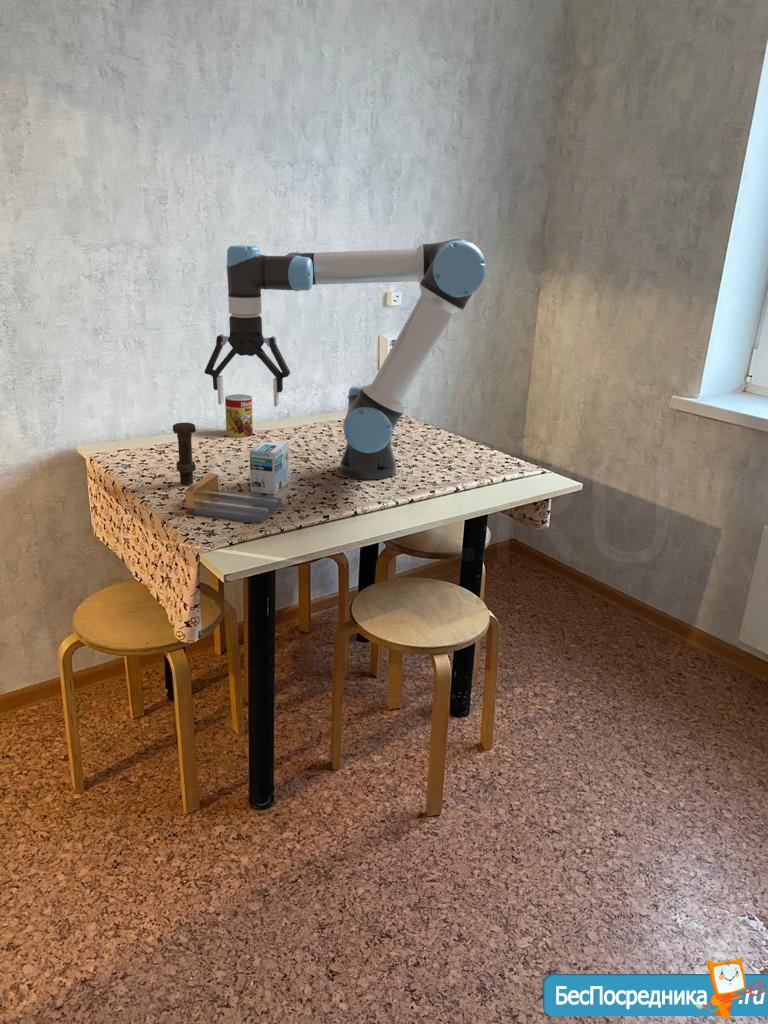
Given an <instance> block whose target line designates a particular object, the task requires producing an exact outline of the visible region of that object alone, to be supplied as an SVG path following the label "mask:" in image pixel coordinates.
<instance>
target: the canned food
mask: <svg viewBox="0 0 768 1024" xmlns="http://www.w3.org/2000/svg"><path fill="white" fill-rule="evenodd" d="M224 405H225V406H224V407H225V434H226V436H227V437H229V438H234V439H235V438H236V439H240V438H241V439H243V438H244V439H245V438H249V437H251V436H253V433H254V432H253V430H254V429H253V396H251V395H249V394H241V393H236V394H235V393H234V394H229V395H228V394H227V395H226V396H224Z"/></svg>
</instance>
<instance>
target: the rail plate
mask: <svg viewBox="0 0 768 1024" xmlns="http://www.w3.org/2000/svg"><path fill="white" fill-rule="evenodd" d="M184 493H185V494H184V495H185V499H184V500H185V514H186V515H193V516H203V517H208V518H209V517H210V518H214V519H215V518H217V519H224V520H229V521H230V520H232V521H237V522H247V523H255V524H261V525H262V524H263V523H264V522H265V521H266V520H267V519H268V518H269V517H270V516H272V514H273V513H274V512H275V511H276V510H278V509H279V507H281V506H282V505H283V498H282V497H276V496H269V495H261V494H251V493H244V492H236V491H228V490H220V488H219V474H218V473H210V472H209V473H208V474H207V475H205V476H203V478H201V479H200V480H198V481H197V482H195V483H194V484H193V485H192V484H191V486H190V487H188V488H187V489H185V490H184Z"/></svg>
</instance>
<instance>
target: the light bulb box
mask: <svg viewBox="0 0 768 1024" xmlns="http://www.w3.org/2000/svg"><path fill="white" fill-rule="evenodd" d="M289 445H290V443H289V441H282V440H275V439H274V440H273V439H267V438H266V439H265V438H263V440H261V441H260V442H259V443H258V444H256V445H255V446H254V447H252V448H251V449H249V472H250V473H249V474H250V475H249V480H250V484H249V485H250V493H251V492H252V493H258V494H259V493H261V494H268V495H276V494H278V492H280V491H281V490H282V489H283V488H284V487H285V486H286V485H287V484H288V483H289V458H290V457H289V452H290V451H289V449H290V448H289Z"/></svg>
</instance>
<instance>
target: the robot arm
mask: <svg viewBox="0 0 768 1024" xmlns="http://www.w3.org/2000/svg"><path fill="white" fill-rule="evenodd" d="M486 265H487V263H486V259H485V256H484V254H483V252H482V251H481V249H480V248H479V247H478V246H477V245H475V244H474V243H473V242H470V241H468V240H465V239H461V238H458V239H457V238H453V239H449V240H445V241H440V242H439V241H438V242H434V243H421V244H420V245H419V246H418V247H417V248H403V249H401V248H399V249H398V248H397V249H377V250H376V249H375V250H352V251H351V250H349V251H348V250H347V251H345V250H344V251H323V252H321V251H319V252H302V253H301V252H297V251H296V252H289V253H287V254H285V255H265V254H261V250H260V247H259V246H256V245H244V244H243V245H236V244H235V245H230V246H229V247H228V248H227V251H226V274H227V275H226V276H227V289H228V290H227V291H228V296H227V297H228V313H229V314H230V316H229V318H228V319H229V320H228V323H229V336H225V335H223V334H219V335H217V336H216V340H215V347H214V349H213V351H212V353H211V356H210V358H209V360H208V362H207V364H206V367H205V369H204V374H205V375H209V376H211V377H212V387H213V390H214V391H217V405H219V406H220V405H223V404H224V403H225V396H224V394H225V393H224V378H223V375H220V374H221V373H222V372H223V370H224V369H226V366H228V364H229V363H230V362H231V361H232V359H233V358H234V357H235V356H236V355H239V357H240V356H241V357H242V356H248V357H253V356H255V355H256V357H257V358H258V359H260V361H261V362H262V363H263V364H264V365H265V366H266V368H267V369H268V370H269V371H270V372H271V373H272V375H273V376H274V378H273V382H272V383H273V384H272V385H273V386H272V387H273V407H277V408H278V406H279V405H280V398H279V397H280V396H279V395H280V394H279V393H282V392H283V389H284V383H283V381H284V378H288V377H289V376H290V375H291V371H290V369H289V367H288V365H287V363H286V361H285V359H284V358H283V355H282V353H281V351H280V349H279V347H278V345H277V339H276V337H275V336H274V335H272V336H271V337H264V336H263V317H262V316H261V314H262V310H263V309H262V292H261V291H262V290H265V291H266V290H274V291H295V292H301V291H309V290H311V289H312V287H313V286H315V285H343V284H344V285H345V284H369V283H370V284H374V283H377V284H378V283H380V284H381V283H403V282H404V283H405V282H406V283H407V282H409V283H410V282H411V283H412V282H418V283H419V288H420V292H421V294H420V297H419V299H418V300H417V302H416V303H415V305H414V307H413V309H412V311H411V313H410V314H409V316H408V318H407V320H406V322H405V323H404V325H403V327H402V329H401V331H400V332H399V334H398V336H397V338H396V339H395V341H394V343H393V345H392V346H391V349H390V351H389V352H388V354H387V356H386V357H385V359H384V361H383V363H382V365H381V366H380V368H379V370H378V371H377V373H376V375H375V377H374V379H373V381H372V382H371V383H370V384H367V385H355V386H352V387H350V388H349V390H348V394H347V399H348V402H347V403H348V408H347V412H346V415H345V418H344V421H343V429H342V430H343V434H344V438H345V439H346V441H347V444H346V445H345V448H344V451H343V454H342V456H341V459H340V462H339V472H340V474H342V475H343V476H345V475H346V477H349V478H352V479H356V478H357V479H358V480H362V479H367V481H371V480H370V479H373V480H372V481H376V480H375V479H380V480H385V479H384V478H386V479H388V478H387V477H390V476H392V475H394V474H395V473H397V462H396V459H395V455H394V452H393V448H392V437H393V432H394V429H395V428H396V426H397V424H398V422H399V421H400V419H401V417H402V416H403V414H404V412H405V408H404V404H403V402H404V399H405V397H406V396H407V394H409V391H410V389H411V387H412V385H413V384H414V382H416V381H415V380H416V379H417V377H418V375H419V374H420V372H421V370H422V369H423V367H424V366H425V363H426V362H427V360H428V358H429V356H430V354H431V353H432V351H433V349H434V348H435V346H436V344H437V343H438V341H439V339H440V337H441V336H442V334H443V333H444V330H445V329H446V327H447V325H448V323H449V322H450V320H451V318H452V317H453V315H454V314H456V313H459V312H463V311H464V309H465V308H466V305H467V304H468V302H469V300H470V298H471V297H472V295H473V294H474V293H475V292H476V291H477V290H478V289H479V288H480V287H481V285H482V284H483V282H484V280H485V278H486V271H487V266H486ZM227 342H228V344H229V345H230V346H231V350H230V351H229V352H228V353H227V354H226V356H225V357H224V358H223V360H222V361H221V362H220V363H219V365H217V367H216V368H215V369H214V367H215V364H216V363H217V361H218V358H219V356H220V354H221V353H222V352H221V351H222V349H223V347H224V346H225V345H226V344H227ZM264 344H266V346H267V347H268V348H270V351H271V353H272V355H273V357H274V359H275V361H276V363H277V365H276V364H275V363H274V362H273V361H272V359H271V358H270V357H269V356H268V355H267V353H266V352H265V350H264V349H263V348H262V346H263V345H264ZM277 366H278V367H279V368H280V369H279V368H278V367H277ZM395 475H396V474H395ZM395 475H394V476H395ZM392 477H393V476H392ZM390 478H391V477H390Z"/></svg>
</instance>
